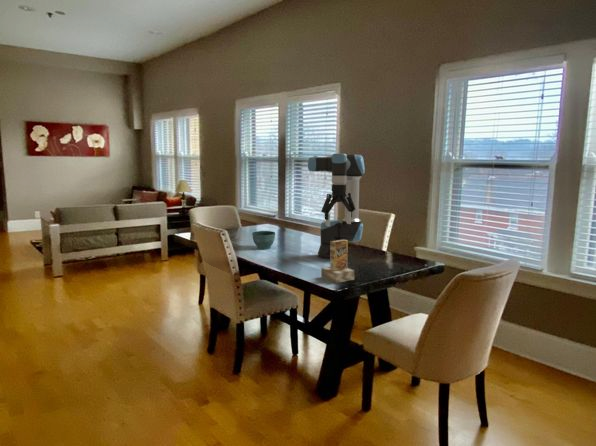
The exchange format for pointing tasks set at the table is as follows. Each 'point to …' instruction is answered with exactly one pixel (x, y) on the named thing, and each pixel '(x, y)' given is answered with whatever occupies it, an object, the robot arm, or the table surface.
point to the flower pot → (263, 239)
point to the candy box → (338, 254)
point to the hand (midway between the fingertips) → (338, 224)
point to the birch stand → (337, 274)
